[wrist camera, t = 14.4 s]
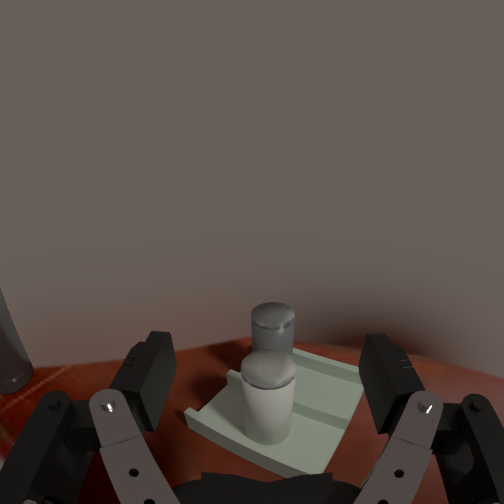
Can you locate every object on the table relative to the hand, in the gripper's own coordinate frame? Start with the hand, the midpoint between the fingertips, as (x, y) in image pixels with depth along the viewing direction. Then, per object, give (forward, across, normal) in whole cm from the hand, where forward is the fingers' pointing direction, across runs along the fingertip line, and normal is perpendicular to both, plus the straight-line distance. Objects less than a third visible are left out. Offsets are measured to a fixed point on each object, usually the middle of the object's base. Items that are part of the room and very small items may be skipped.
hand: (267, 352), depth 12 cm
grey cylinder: (+20, -1, +21) cm, 29 cm away
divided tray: (+14, -2, +22) cm, 26 cm away
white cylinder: (+11, 0, +21) cm, 23 cm away
